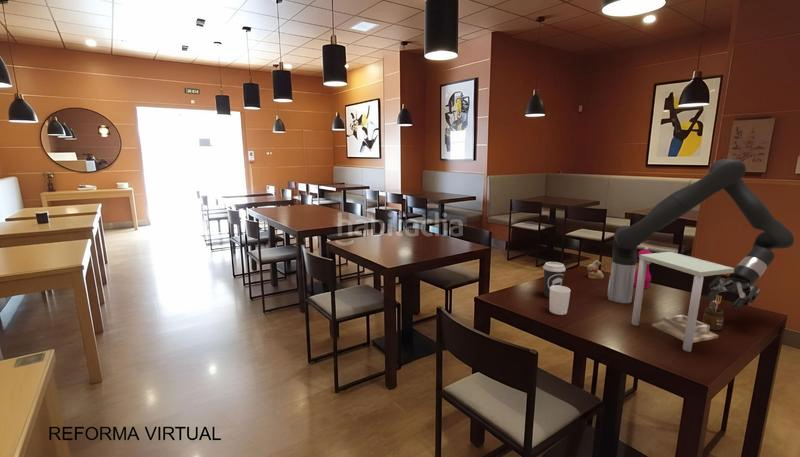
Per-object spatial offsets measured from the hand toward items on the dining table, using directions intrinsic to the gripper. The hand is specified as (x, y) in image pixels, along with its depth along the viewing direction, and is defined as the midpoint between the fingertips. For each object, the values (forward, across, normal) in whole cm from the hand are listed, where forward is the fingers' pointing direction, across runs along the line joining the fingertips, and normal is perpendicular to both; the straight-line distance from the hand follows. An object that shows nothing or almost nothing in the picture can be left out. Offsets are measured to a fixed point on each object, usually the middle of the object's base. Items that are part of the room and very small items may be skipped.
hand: (721, 303), depth 143 cm
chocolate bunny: (+7, -60, +6) cm, 60 cm away
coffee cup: (+35, -44, -22) cm, 60 cm away
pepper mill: (-1, -42, +14) cm, 44 cm away
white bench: (+23, 0, -10) cm, 25 cm away
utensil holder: (+9, 0, +4) cm, 10 cm away
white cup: (+42, -28, -28) cm, 58 cm away
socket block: (+19, 0, -6) cm, 20 cm away
